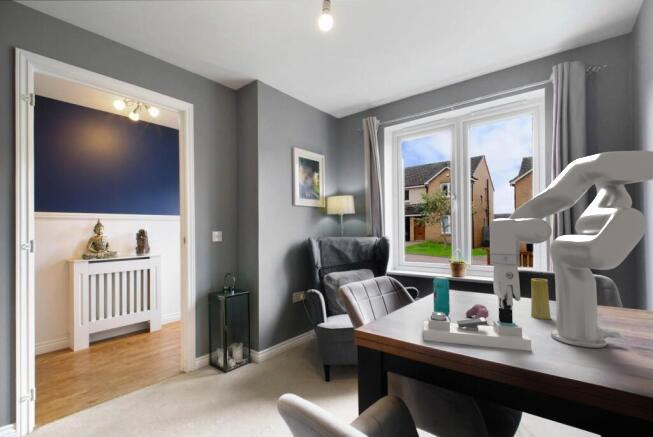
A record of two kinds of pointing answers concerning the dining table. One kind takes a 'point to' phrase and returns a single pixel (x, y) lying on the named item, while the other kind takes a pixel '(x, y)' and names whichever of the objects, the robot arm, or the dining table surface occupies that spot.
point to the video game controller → (477, 311)
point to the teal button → (507, 324)
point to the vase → (540, 299)
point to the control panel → (477, 334)
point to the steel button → (438, 316)
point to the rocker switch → (472, 322)
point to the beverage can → (441, 295)
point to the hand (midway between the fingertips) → (505, 322)
